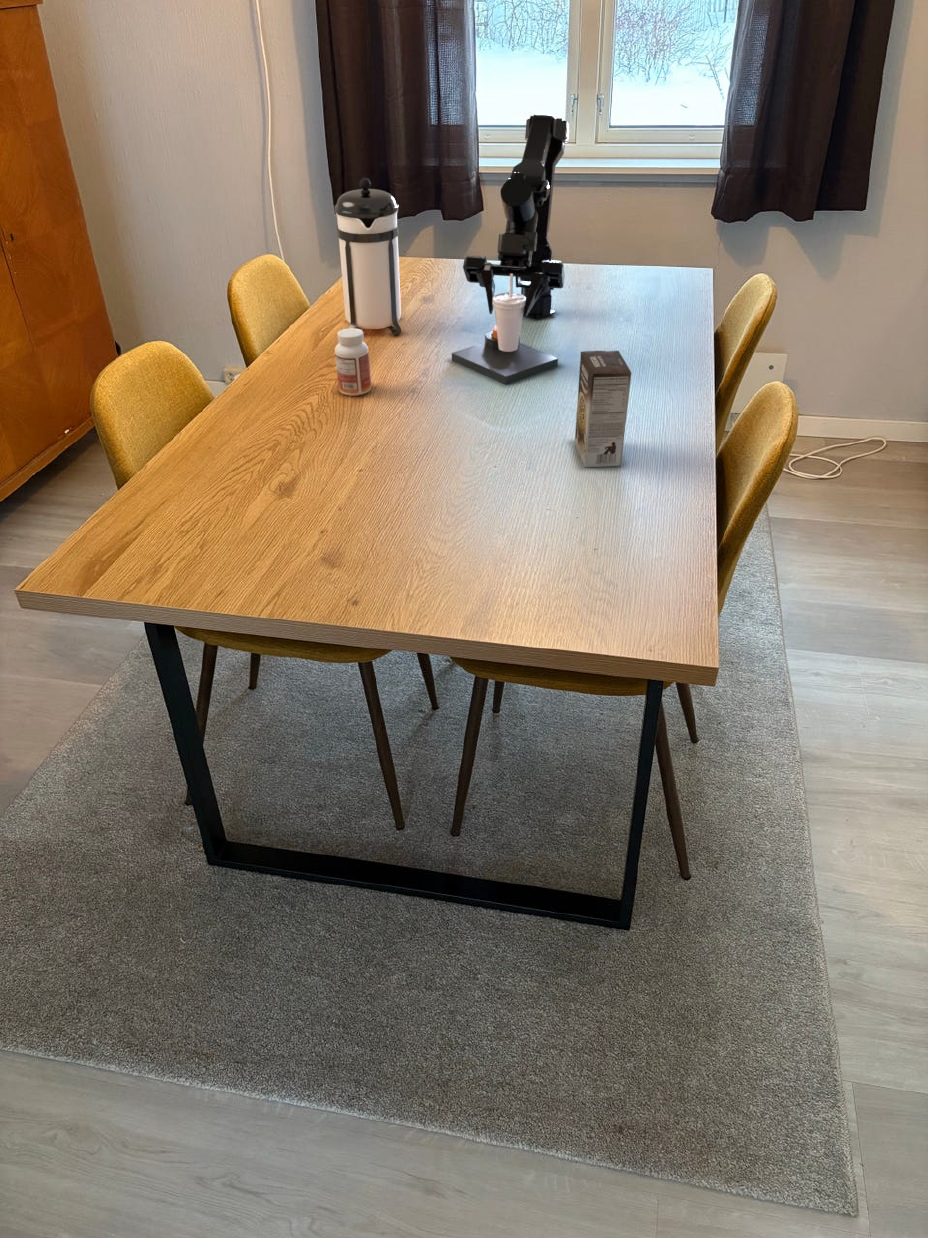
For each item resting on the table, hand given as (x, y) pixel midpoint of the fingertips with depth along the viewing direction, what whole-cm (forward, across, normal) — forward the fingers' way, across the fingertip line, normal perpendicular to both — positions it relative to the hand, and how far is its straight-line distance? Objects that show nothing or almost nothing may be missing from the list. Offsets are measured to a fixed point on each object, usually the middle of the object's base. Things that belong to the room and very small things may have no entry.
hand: (507, 314), depth 176 cm
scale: (+5, -1, +11) cm, 13 cm away
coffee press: (-5, -34, +22) cm, 41 cm away
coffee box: (+30, +21, -14) cm, 39 cm away
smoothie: (+4, 0, +6) cm, 7 cm away
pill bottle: (+18, -26, -2) cm, 32 cm away
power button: (-1, -3, +14) cm, 14 cm away
